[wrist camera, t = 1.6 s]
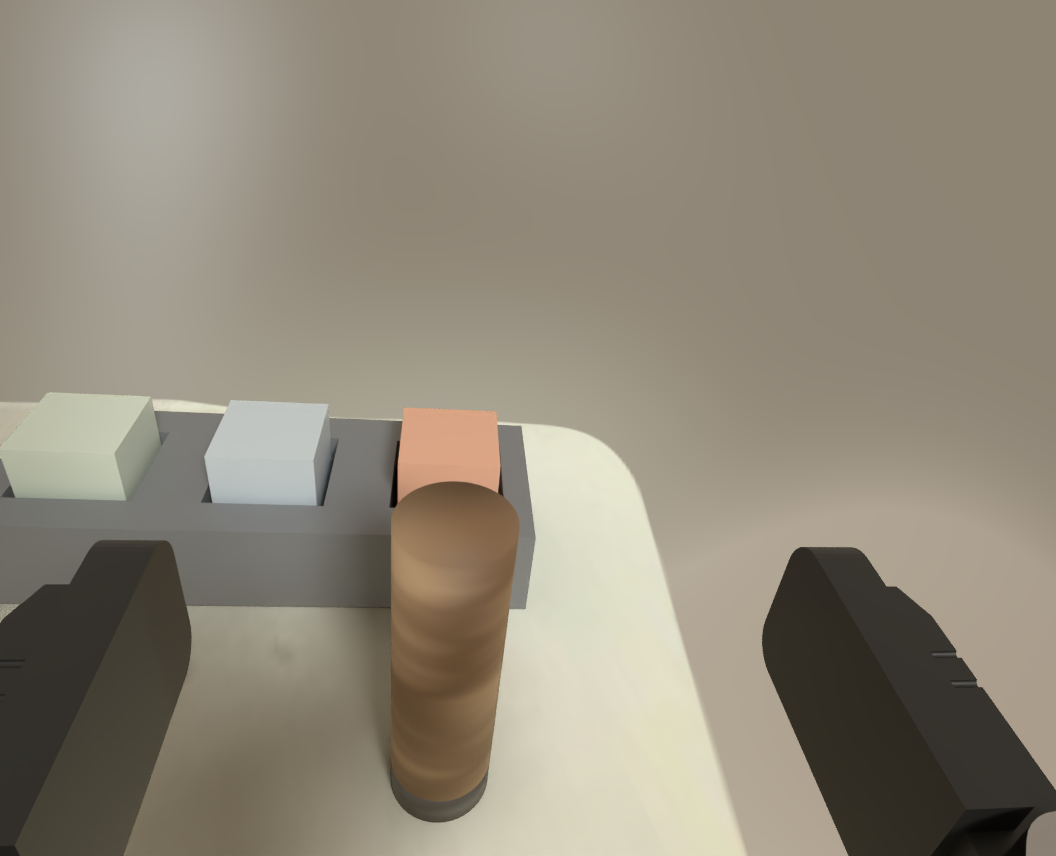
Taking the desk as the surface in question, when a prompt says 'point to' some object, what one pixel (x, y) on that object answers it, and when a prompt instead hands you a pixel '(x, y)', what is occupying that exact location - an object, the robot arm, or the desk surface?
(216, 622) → the desk surface
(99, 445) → the sage key
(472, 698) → the brown wooden cylinder
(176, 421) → the key console
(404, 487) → the terracotta key
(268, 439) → the grey-blue key
